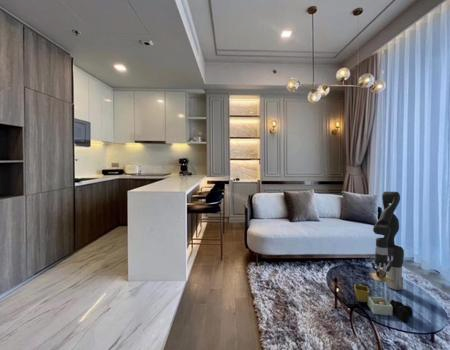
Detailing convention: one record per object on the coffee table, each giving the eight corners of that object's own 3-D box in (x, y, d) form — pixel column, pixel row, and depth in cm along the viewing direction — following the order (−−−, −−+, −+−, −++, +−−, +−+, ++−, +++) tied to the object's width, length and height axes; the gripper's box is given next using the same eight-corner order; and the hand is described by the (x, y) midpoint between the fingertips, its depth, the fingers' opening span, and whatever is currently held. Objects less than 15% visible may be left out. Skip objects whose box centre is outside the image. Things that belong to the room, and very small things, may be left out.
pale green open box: (385, 306, 171) (385, 297, 171) (392, 315, 160) (392, 306, 160) (367, 304, 173) (367, 296, 173) (373, 313, 162) (373, 304, 162)
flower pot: (355, 302, 176) (355, 289, 176) (353, 296, 184) (354, 284, 184) (369, 304, 173) (369, 291, 173) (367, 298, 181) (367, 286, 181)
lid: (386, 276, 183) (386, 267, 183) (393, 283, 172) (393, 273, 172) (369, 275, 186) (369, 266, 185) (375, 282, 174) (375, 272, 174)
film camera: (419, 323, 152) (419, 309, 151) (402, 323, 152) (402, 308, 152) (402, 309, 167) (402, 296, 167) (387, 309, 167) (387, 296, 167)
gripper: (390, 251, 181) (389, 275, 181) (368, 250, 183) (368, 273, 184) (394, 255, 173) (394, 279, 174) (372, 253, 176) (372, 277, 176)
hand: (380, 276), depth 179 cm, fingers closed on lid, 3 cm apart
